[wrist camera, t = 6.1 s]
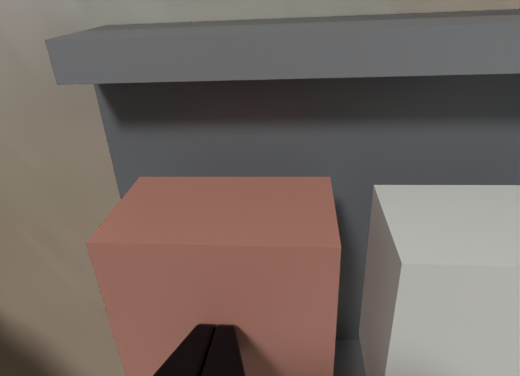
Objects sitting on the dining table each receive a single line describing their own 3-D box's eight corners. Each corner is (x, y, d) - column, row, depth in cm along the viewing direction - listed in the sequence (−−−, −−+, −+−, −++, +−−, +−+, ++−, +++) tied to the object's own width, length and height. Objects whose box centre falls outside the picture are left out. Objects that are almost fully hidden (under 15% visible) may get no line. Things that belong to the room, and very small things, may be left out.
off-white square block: (358, 333, 12) (375, 435, 9) (373, 184, 10) (401, 263, 7) (536, 340, 11) (607, 449, 9) (597, 185, 9) (720, 270, 6)
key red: (167, 315, 13) (133, 402, 10) (139, 176, 11) (86, 242, 8) (324, 320, 12) (330, 413, 10) (330, 176, 10) (341, 247, 7)
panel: (167, 321, 17) (141, 387, 14) (106, 25, 12) (44, 40, 9) (669, 339, 15) (753, 420, 12) (880, -5, 10) (1117, 1, 7)
